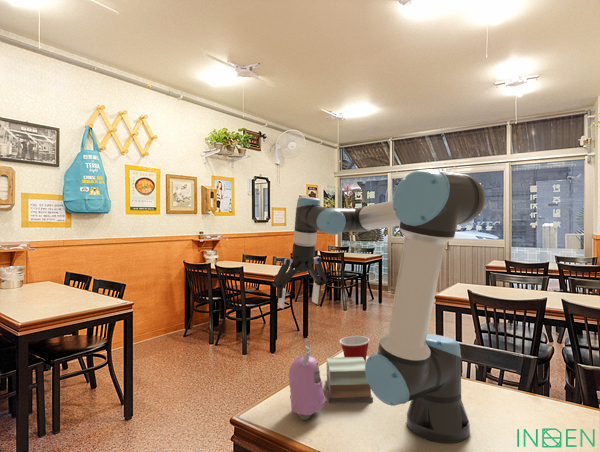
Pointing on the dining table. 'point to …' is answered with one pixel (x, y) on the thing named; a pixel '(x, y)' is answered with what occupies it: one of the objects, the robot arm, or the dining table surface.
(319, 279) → the robot arm
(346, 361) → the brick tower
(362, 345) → the plastic cup
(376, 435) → the dining table surface
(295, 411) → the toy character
